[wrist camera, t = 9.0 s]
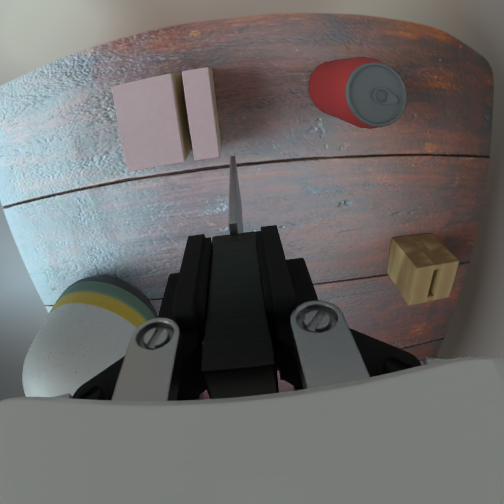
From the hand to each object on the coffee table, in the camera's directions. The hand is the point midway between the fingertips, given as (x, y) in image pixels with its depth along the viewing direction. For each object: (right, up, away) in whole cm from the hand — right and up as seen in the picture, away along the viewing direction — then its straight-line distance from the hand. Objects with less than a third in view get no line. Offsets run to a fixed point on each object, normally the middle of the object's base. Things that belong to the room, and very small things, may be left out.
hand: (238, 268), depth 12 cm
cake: (-10, +16, +22) cm, 29 cm away
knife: (-1, +5, +9) cm, 11 cm away
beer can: (+10, +19, +21) cm, 30 cm away
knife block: (+24, 0, +33) cm, 41 cm away
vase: (-21, -8, +35) cm, 42 cm away
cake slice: (-5, +16, +22) cm, 28 cm away
